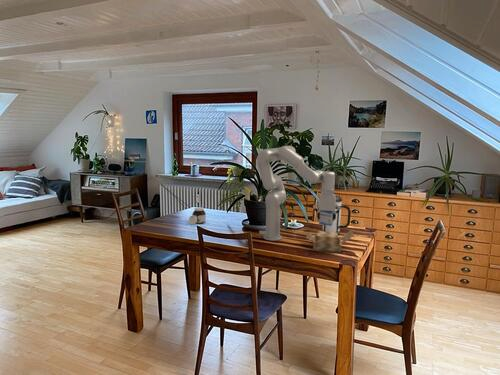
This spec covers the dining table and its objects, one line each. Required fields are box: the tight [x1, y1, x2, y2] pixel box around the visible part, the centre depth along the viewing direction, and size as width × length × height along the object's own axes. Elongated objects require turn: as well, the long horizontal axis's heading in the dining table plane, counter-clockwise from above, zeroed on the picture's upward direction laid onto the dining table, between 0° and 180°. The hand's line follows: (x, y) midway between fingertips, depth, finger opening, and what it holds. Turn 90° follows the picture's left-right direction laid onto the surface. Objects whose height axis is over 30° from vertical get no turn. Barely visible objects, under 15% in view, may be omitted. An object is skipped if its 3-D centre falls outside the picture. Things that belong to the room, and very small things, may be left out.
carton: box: [305, 230, 343, 254], centre depth 222 cm, size 21×24×7 cm
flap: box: [341, 228, 354, 244], centre depth 218 cm, size 1×12×8 cm
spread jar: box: [188, 206, 207, 226], centre depth 270 cm, size 12×11×12 cm
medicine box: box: [318, 210, 334, 226], centre depth 218 cm, size 8×4×9 cm, turn 64°
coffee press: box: [322, 191, 351, 237], centre depth 251 cm, size 17×16×30 cm
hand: (326, 219), depth 218 cm, fingers closed on medicine box, 8 cm apart
